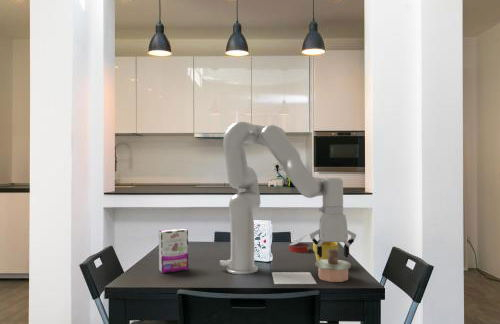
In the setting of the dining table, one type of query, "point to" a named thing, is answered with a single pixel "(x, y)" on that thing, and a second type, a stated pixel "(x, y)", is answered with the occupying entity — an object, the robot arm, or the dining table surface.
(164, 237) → the candy bar box
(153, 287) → the dining table surface
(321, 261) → the lid
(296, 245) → the canned food
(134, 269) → the dining table surface
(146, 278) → the dining table surface
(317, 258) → the plant pot
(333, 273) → the bowl
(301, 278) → the square white plate
